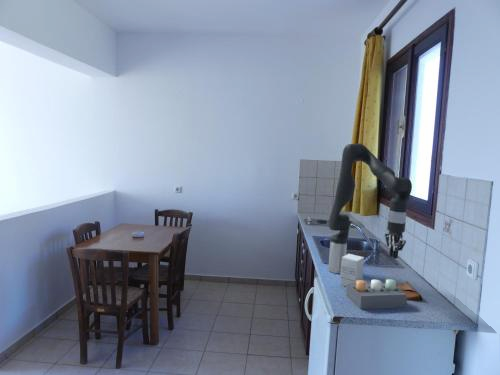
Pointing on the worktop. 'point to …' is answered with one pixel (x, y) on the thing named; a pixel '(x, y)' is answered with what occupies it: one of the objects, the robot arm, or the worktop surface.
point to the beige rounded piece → (361, 285)
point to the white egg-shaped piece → (376, 285)
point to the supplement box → (351, 269)
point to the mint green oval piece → (390, 285)
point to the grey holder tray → (376, 297)
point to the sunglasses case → (409, 292)
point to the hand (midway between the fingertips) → (393, 257)
